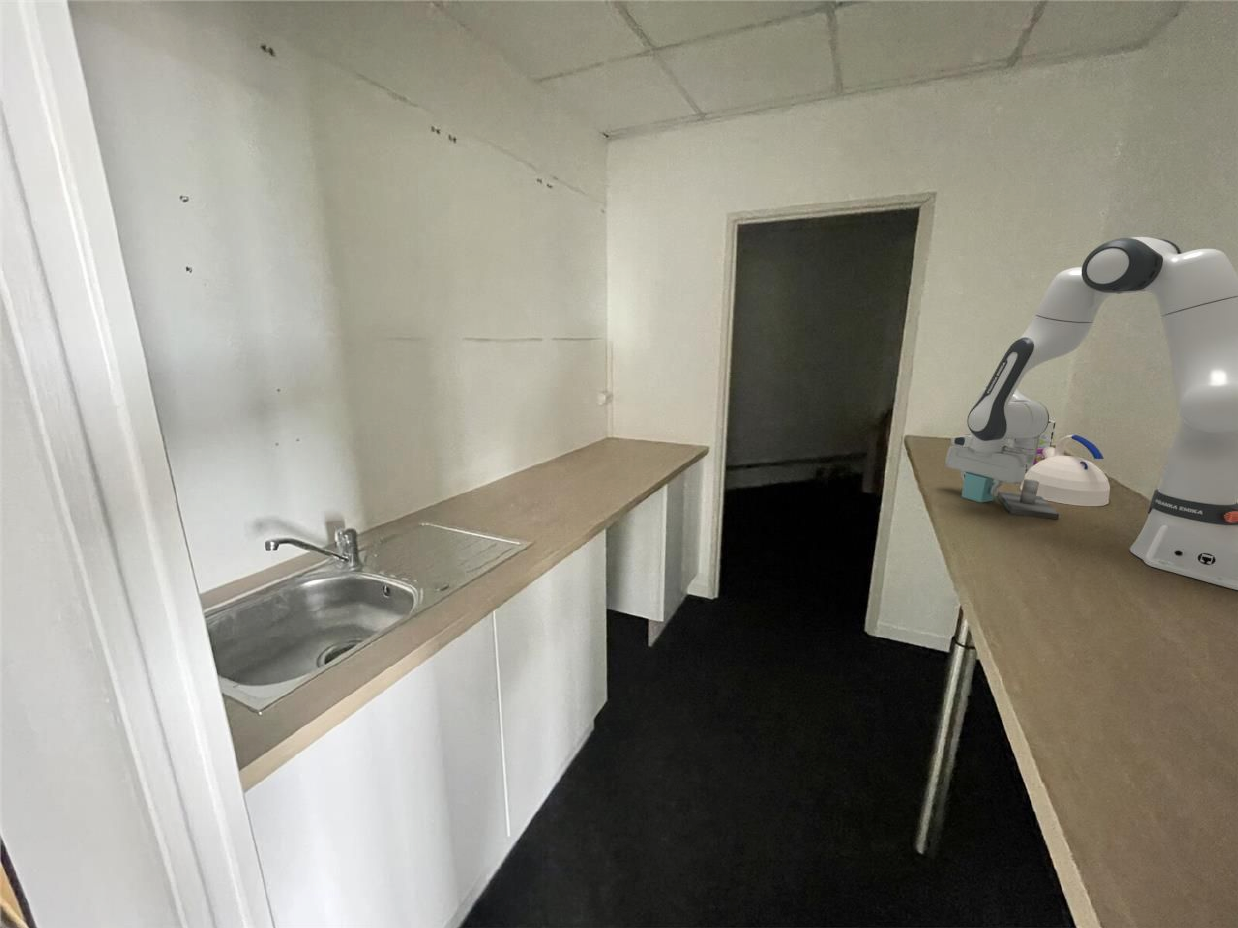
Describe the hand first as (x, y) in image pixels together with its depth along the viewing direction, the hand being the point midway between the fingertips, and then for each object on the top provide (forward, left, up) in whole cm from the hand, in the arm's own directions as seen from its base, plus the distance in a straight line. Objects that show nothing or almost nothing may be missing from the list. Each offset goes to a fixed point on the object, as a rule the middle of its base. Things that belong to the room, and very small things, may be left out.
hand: (978, 490), depth 149 cm
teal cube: (0, 0, -2) cm, 2 cm away
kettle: (-7, -27, -3) cm, 28 cm away
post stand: (-10, -5, -2) cm, 11 cm away
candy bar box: (+19, -54, -3) cm, 57 cm away
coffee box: (+12, -39, -3) cm, 41 cm away
